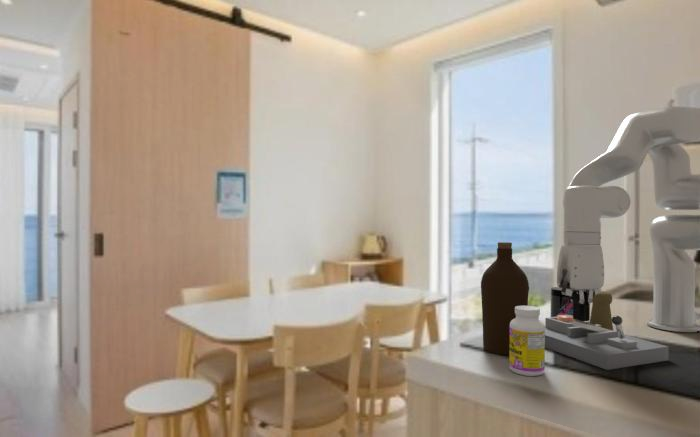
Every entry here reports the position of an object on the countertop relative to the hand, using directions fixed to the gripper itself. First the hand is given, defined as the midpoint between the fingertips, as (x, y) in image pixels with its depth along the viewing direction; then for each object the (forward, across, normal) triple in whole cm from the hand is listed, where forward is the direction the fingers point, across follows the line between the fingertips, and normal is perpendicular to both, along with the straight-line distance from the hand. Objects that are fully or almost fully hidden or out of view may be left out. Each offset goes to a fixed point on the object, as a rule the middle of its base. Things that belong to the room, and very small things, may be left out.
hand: (581, 319), depth 106 cm
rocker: (+2, -4, 0) cm, 5 cm away
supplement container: (+8, -17, -22) cm, 29 cm away
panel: (+8, -4, -1) cm, 9 cm away
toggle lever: (+3, -4, +7) cm, 9 cm away
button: (+4, -4, -8) cm, 10 cm away
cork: (+8, -20, -12) cm, 25 cm away
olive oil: (+8, +15, -8) cm, 19 cm away
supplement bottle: (+8, +21, +6) cm, 23 cm away
